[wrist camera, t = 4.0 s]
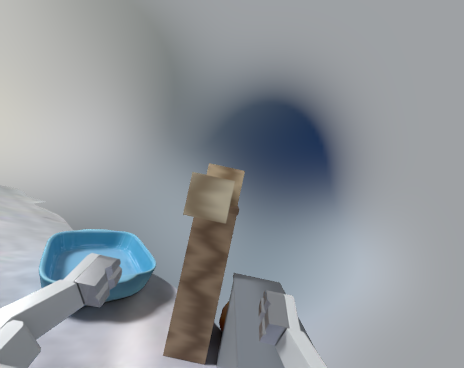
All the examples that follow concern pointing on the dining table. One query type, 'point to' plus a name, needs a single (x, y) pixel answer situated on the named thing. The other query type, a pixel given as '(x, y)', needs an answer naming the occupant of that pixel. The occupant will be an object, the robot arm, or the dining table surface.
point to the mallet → (213, 193)
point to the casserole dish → (104, 243)
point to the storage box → (247, 327)
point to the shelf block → (199, 288)
